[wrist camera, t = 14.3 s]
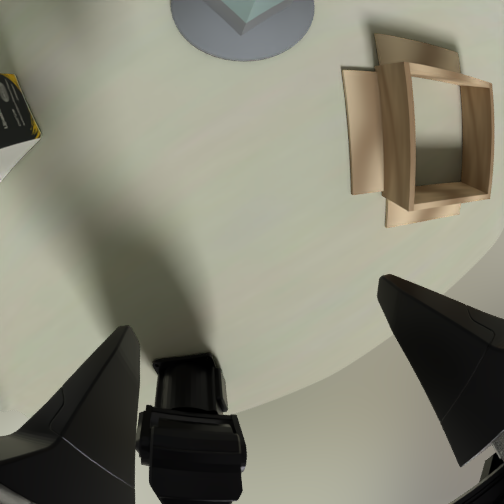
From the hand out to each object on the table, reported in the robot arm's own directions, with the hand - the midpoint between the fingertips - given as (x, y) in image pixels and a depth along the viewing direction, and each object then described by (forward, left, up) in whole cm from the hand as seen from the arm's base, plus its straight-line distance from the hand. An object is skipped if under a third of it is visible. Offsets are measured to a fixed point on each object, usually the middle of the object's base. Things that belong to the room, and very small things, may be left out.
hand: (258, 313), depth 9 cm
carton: (+18, +4, -13) cm, 23 cm away
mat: (+3, +15, -13) cm, 20 cm away
